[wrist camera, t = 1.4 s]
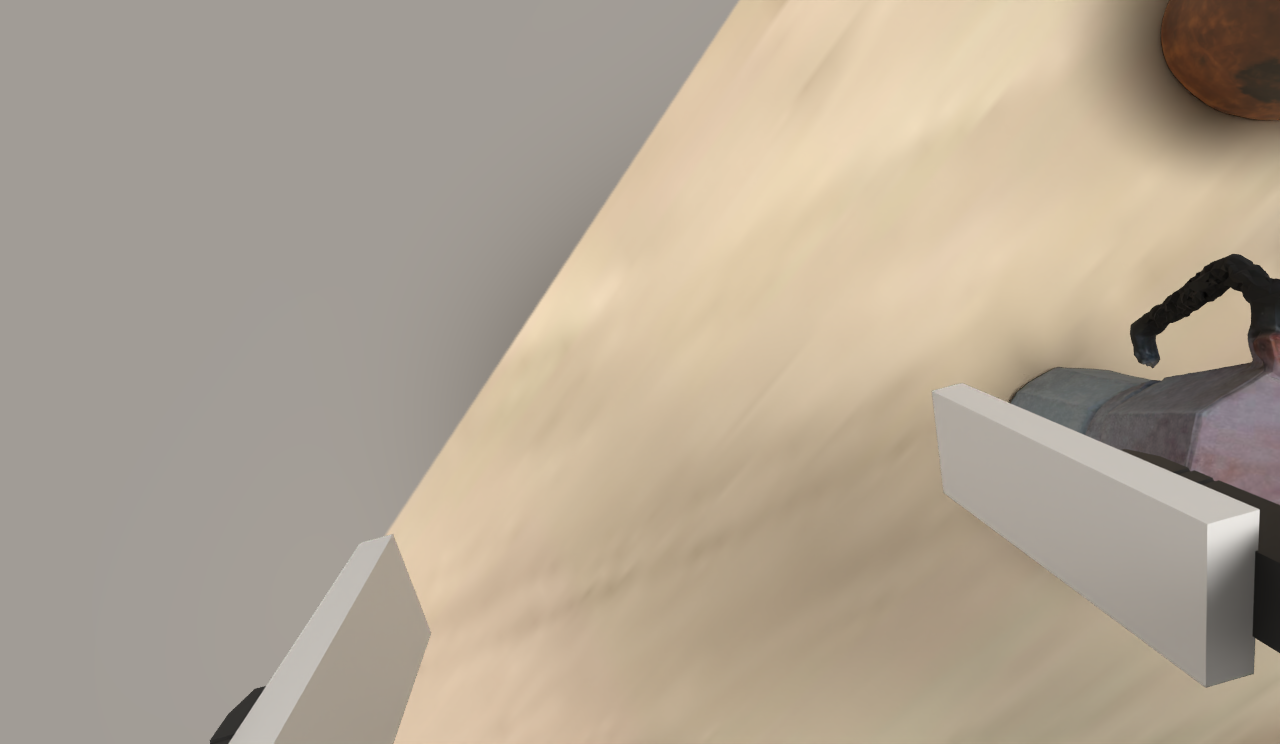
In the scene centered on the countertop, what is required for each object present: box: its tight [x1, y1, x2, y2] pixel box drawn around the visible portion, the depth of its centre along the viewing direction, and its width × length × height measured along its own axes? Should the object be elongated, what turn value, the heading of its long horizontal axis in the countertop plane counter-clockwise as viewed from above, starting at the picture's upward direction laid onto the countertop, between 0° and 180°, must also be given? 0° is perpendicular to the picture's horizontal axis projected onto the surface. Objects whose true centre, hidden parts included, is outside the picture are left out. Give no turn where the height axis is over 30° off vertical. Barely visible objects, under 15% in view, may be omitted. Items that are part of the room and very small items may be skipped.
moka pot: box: [1010, 254, 1280, 505], centre depth 29 cm, size 10×15×20 cm, turn 16°
